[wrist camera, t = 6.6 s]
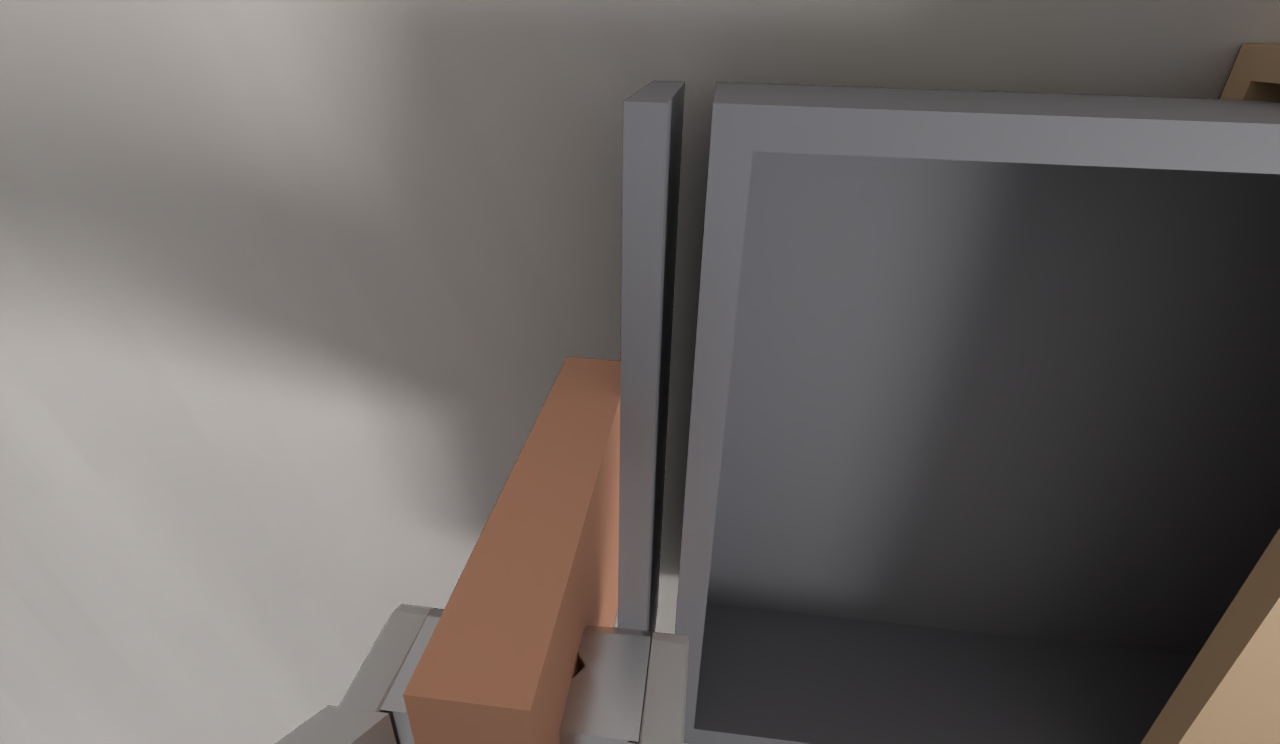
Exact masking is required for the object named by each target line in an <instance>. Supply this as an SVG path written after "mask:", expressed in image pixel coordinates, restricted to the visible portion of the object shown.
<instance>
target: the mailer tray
mask: <svg viewBox="0 0 1280 744" xmlns="http://www.w3.org/2000/svg"><path fill="white" fill-rule="evenodd" d="M684 88H685V82H677V81H652V82H651V83H650V84H648V85H647V86H645V87H644V88H642V89H641V90H639V91H638V92H636V93H635V94H633V95H632V96H630V97H629V98H628V99H626V100H625V101H623V186H622V280H621V361H617V360H604V359H590V358H577V357H567V358H566V360H565V362H564V364H563V366H562V368H561V370H560V372H559V374H558V376H557V378H556V380H555V382H554V385H553V387H552V389H551V391H550V393H549V395H548V397H547V399H546V401H545V403H544V405H543V407H542V409H541V411H540V413H539V415H538V417H537V420H536V422H535V424H534V426H533V428H532V430H531V432H530V434H529V436H528V438H527V440H526V442H525V444H524V446H523V448H522V450H521V453H520V455H519V457H518V459H517V461H516V463H515V465H514V467H513V469H512V471H511V473H510V475H509V477H508V479H507V481H506V483H505V486H504V488H503V490H502V492H501V494H500V496H499V498H498V500H497V502H496V504H495V506H494V508H493V510H492V512H491V514H490V516H489V518H488V521H487V523H486V525H485V527H484V529H483V531H482V533H481V535H480V537H479V539H478V541H477V543H476V545H475V547H474V549H473V551H472V554H471V556H470V558H469V560H468V562H467V564H466V566H465V568H464V570H463V572H462V574H461V576H460V578H459V580H458V582H457V584H456V587H455V589H454V591H453V593H452V595H451V597H450V599H449V601H448V603H447V605H446V607H445V609H444V611H443V613H442V615H441V617H440V619H439V622H438V624H437V626H436V628H435V630H434V632H433V634H432V636H431V638H430V640H429V642H428V644H427V646H426V648H425V650H424V652H423V655H422V657H421V659H420V661H419V663H418V665H417V667H416V669H415V671H414V673H413V675H412V677H411V679H410V681H409V683H408V685H407V688H406V690H405V692H404V694H403V697H404V701H405V705H406V710H407V714H408V718H409V722H410V727H411V731H412V735H413V740H414V744H560V738H559V730H560V725H561V721H562V717H563V713H564V709H565V704H566V700H567V696H568V692H569V687H570V683H571V679H572V678H574V677H575V676H576V675H577V674H578V649H579V645H580V641H581V637H582V633H583V630H584V628H585V627H586V625H593V626H603V627H614V625H615V620H616V615H617V609H618V628H625V629H635V630H646V631H652V636H653V632H655V625H656V616H657V608H658V589H659V570H660V551H661V531H662V512H663V493H664V474H665V454H666V435H667V416H668V396H669V377H670V358H671V339H672V319H673V300H674V281H675V261H676V242H677V223H678V204H679V184H680V165H681V146H682V126H683V107H684ZM1279 528H1280V101H1256V100H1227V99H1198V98H1168V97H1139V96H1110V95H1080V94H1051V93H1021V92H992V91H963V90H933V89H904V88H874V87H845V86H816V85H786V84H757V83H728V82H716V88H715V94H714V100H713V110H712V124H711V138H710V152H709V166H708V180H707V194H706V208H705V222H704V236H703V250H702V263H701V277H700V291H699V305H698V319H697V333H696V347H695V361H694V375H693V389H692V403H691V417H690V431H689V444H688V458H687V472H686V486H685V500H684V514H683V528H682V542H681V556H680V570H679V584H678V598H677V612H676V625H675V634H676V635H686V636H688V639H689V651H688V669H687V688H686V707H685V725H684V743H686V744H1141V742H1142V741H1143V739H1144V738H1145V736H1146V734H1147V733H1148V731H1149V730H1150V728H1151V727H1152V725H1153V724H1154V722H1155V720H1156V719H1157V717H1158V716H1159V714H1160V713H1161V711H1162V710H1163V708H1164V707H1165V705H1166V703H1167V702H1168V700H1169V699H1170V697H1171V696H1172V694H1173V693H1174V691H1175V689H1176V688H1177V686H1178V685H1179V683H1180V682H1181V680H1182V679H1183V677H1184V676H1185V674H1186V672H1187V671H1188V669H1189V668H1190V666H1191V665H1192V663H1193V662H1194V660H1195V658H1196V657H1197V655H1198V654H1199V652H1200V651H1201V649H1202V648H1203V646H1204V645H1205V643H1206V641H1207V640H1208V638H1209V637H1210V635H1211V634H1212V632H1213V631H1214V629H1215V627H1216V626H1217V624H1218V623H1219V621H1220V620H1221V618H1222V617H1223V615H1224V614H1225V612H1226V610H1227V609H1228V607H1229V606H1230V604H1231V603H1232V601H1233V600H1234V598H1235V597H1236V595H1237V593H1238V592H1239V590H1240V589H1241V587H1242V586H1243V584H1244V583H1245V581H1246V579H1247V578H1248V576H1249V575H1250V573H1251V572H1252V570H1253V569H1254V567H1255V566H1256V564H1257V562H1258V561H1259V559H1260V558H1261V556H1262V555H1263V553H1264V552H1265V550H1266V548H1267V547H1268V545H1269V544H1270V542H1271V541H1272V539H1273V538H1274V536H1275V535H1276V533H1277V531H1278V530H1279Z"/></svg>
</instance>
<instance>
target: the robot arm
mask: <svg viewBox="0 0 1280 744" xmlns="http://www.w3.org/2000/svg"><path fill="white" fill-rule="evenodd" d="M443 611H444V609H438V608H430V607H422V606H413V605H405V604H401V605H400V606H399V607H398V608H397V609H396V610H395V611H394V612H393V613H392V614H391V616H390V618H389V619H388V621H387V623H386V625H385V626H384V628H383V630H382V631H381V633H380V635H379V637H378V638H377V640H376V642H375V644H374V645H373V647H372V649H371V651H370V652H369V654H368V656H367V658H366V659H365V661H364V663H363V665H362V666H361V668H360V670H359V672H358V673H357V675H356V677H355V679H354V680H353V682H352V684H351V686H350V687H349V689H348V691H347V693H346V694H345V696H344V698H343V700H342V701H341V703H340V705H339V706H330V705H328V706H327V707H325V708H324V709H323V710H321V711H320V712H318V713H317V714H316V715H314V716H313V717H311V718H310V719H309V720H307V721H306V722H304V723H303V724H302V725H300V726H299V727H298V728H296V729H295V730H293V731H292V732H291V733H289V734H288V735H286V736H285V737H284V738H282V739H281V740H280V741H278V742H277V743H275V744H414V740H413V735H412V731H411V727H410V722H409V718H408V714H407V710H406V705H405V701H404V697H403V694H404V692H405V690H406V688H407V685H408V683H409V681H410V679H411V677H412V675H413V673H414V671H415V669H416V667H417V665H418V663H419V661H420V659H421V657H422V655H423V652H424V650H425V648H426V646H427V644H428V642H429V640H430V638H431V636H432V634H433V632H434V630H435V628H436V626H437V624H438V622H439V619H440V617H441V615H442V613H443ZM688 651H689V639H688V636H686V635H676V634H667V633H658V632H653V636H652V631H646V630H635V629H625V628H614V627H603V626H593V625H586V627H585V628H584V630H583V633H582V637H581V641H580V645H579V649H578V674H577V675H576V676H575V677H574V678H572V679H571V683H570V687H569V692H568V696H567V700H566V704H565V709H564V713H563V717H562V721H561V725H560V730H559V738H560V744H684V725H685V707H686V688H687V669H688Z"/></svg>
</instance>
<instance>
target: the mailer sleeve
mask: <svg viewBox="0 0 1280 744" xmlns="http://www.w3.org/2000/svg"><path fill="white" fill-rule="evenodd" d="M1220 99H1227V100H1256V101H1280V44H1247V43H1243V44H1242V47H1241V49H1240V51H1239V54H1238V56H1237V59H1236V61H1235V63H1234V66H1233V68H1232V71H1231V73H1230V75H1229V78H1228V80H1227V83H1226V85H1225V87H1224V90H1223V92H1222V95H1221V97H1220ZM1141 744H1280V528H1279V530H1278V531H1277V533H1276V535H1275V536H1274V538H1273V539H1272V541H1271V542H1270V544H1269V545H1268V547H1267V548H1266V550H1265V552H1264V553H1263V555H1262V556H1261V558H1260V559H1259V561H1258V562H1257V564H1256V566H1255V567H1254V569H1253V570H1252V572H1251V573H1250V575H1249V576H1248V578H1247V579H1246V581H1245V583H1244V584H1243V586H1242V587H1241V589H1240V590H1239V592H1238V593H1237V595H1236V597H1235V598H1234V600H1233V601H1232V603H1231V604H1230V606H1229V607H1228V609H1227V610H1226V612H1225V614H1224V615H1223V617H1222V618H1221V620H1220V621H1219V623H1218V624H1217V626H1216V627H1215V629H1214V631H1213V632H1212V634H1211V635H1210V637H1209V638H1208V640H1207V641H1206V643H1205V645H1204V646H1203V648H1202V649H1201V651H1200V652H1199V654H1198V655H1197V657H1196V658H1195V660H1194V662H1193V663H1192V665H1191V666H1190V668H1189V669H1188V671H1187V672H1186V674H1185V676H1184V677H1183V679H1182V680H1181V682H1180V683H1179V685H1178V686H1177V688H1176V689H1175V691H1174V693H1173V694H1172V696H1171V697H1170V699H1169V700H1168V702H1167V703H1166V705H1165V707H1164V708H1163V710H1162V711H1161V713H1160V714H1159V716H1158V717H1157V719H1156V720H1155V722H1154V724H1153V725H1152V727H1151V728H1150V730H1149V731H1148V733H1147V734H1146V736H1145V738H1144V739H1143V741H1142V742H1141Z"/></svg>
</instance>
